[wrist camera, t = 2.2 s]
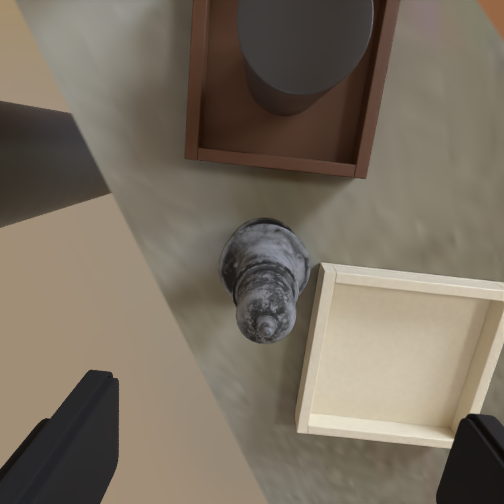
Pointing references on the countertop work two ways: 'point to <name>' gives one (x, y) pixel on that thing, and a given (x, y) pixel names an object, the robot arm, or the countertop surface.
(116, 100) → the countertop surface
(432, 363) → the light tray
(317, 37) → the dark gray cylinder
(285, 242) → the marbled chess pawn
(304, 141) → the dark tray
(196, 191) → the countertop surface
